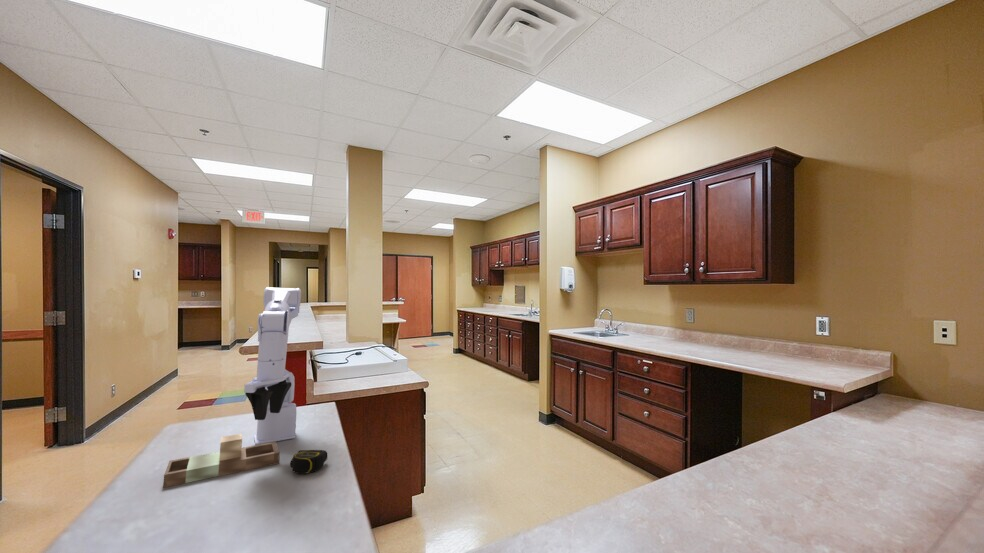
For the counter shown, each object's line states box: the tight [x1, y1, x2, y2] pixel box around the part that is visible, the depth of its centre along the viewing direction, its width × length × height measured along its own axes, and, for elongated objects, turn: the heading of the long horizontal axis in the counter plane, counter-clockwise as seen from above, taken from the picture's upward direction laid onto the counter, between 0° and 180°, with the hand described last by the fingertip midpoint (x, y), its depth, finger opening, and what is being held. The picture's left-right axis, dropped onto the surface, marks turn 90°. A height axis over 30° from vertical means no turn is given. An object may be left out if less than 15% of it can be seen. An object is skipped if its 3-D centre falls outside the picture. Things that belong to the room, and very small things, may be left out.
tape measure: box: [289, 449, 328, 474], centre depth 83 cm, size 7×7×4 cm
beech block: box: [219, 433, 243, 461], centre depth 84 cm, size 4×4×4 cm
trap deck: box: [162, 441, 280, 489], centre depth 83 cm, size 20×8×2 cm, turn 126°
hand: (267, 416), depth 88 cm, fingers open, 5 cm apart
